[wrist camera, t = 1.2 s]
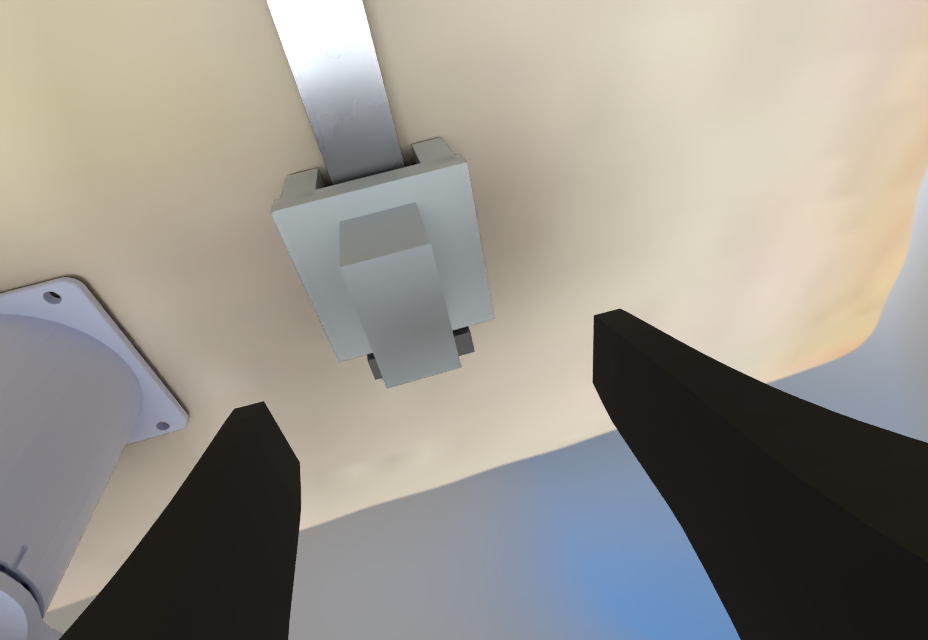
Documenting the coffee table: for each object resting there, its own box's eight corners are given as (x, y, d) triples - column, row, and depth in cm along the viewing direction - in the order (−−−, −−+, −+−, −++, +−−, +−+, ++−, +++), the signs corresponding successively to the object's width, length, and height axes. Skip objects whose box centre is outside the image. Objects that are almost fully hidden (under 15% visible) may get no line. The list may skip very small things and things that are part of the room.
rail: (370, 328, 21) (375, 379, 18) (137, -284, 10) (63, -388, 8) (456, 304, 21) (474, 351, 18) (314, -315, 11) (305, -426, 8)
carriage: (338, 313, 20) (338, 422, 15) (281, 177, 16) (255, 258, 11) (474, 276, 20) (518, 369, 15) (446, 135, 17) (493, 196, 12)
